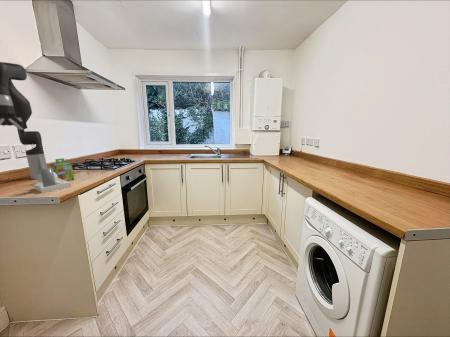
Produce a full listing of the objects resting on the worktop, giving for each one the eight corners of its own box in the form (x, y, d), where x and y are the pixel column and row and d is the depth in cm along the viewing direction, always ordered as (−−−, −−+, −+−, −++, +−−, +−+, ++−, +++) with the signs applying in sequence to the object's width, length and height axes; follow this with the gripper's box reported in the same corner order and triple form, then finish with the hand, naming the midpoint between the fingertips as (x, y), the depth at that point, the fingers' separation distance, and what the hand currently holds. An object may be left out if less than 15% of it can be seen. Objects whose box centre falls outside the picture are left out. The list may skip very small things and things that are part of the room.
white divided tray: (34, 189, 112) (30, 172, 110) (62, 183, 123) (59, 168, 121) (42, 193, 104) (38, 175, 102) (71, 187, 115) (68, 170, 113)
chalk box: (58, 182, 125) (53, 160, 122) (53, 181, 130) (48, 159, 127) (75, 179, 133) (71, 158, 130) (69, 178, 138) (66, 157, 135)
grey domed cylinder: (42, 188, 110) (38, 169, 108) (54, 186, 114) (50, 167, 112) (45, 189, 107) (41, 170, 105) (57, 187, 111) (53, 168, 109)
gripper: (20, 106, 105) (27, 136, 108) (-22, 104, 93) (-13, 138, 97) (23, 105, 101) (30, 137, 104) (-20, 102, 89) (-10, 138, 93)
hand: (10, 137), depth 100 cm, fingers open, 8 cm apart
